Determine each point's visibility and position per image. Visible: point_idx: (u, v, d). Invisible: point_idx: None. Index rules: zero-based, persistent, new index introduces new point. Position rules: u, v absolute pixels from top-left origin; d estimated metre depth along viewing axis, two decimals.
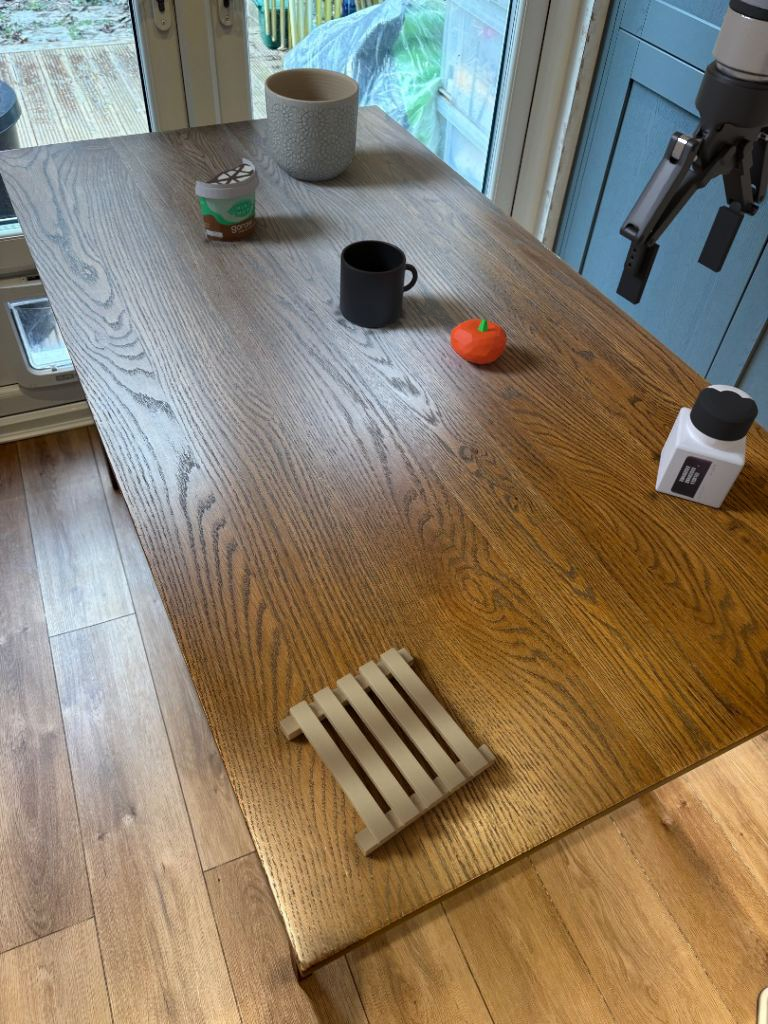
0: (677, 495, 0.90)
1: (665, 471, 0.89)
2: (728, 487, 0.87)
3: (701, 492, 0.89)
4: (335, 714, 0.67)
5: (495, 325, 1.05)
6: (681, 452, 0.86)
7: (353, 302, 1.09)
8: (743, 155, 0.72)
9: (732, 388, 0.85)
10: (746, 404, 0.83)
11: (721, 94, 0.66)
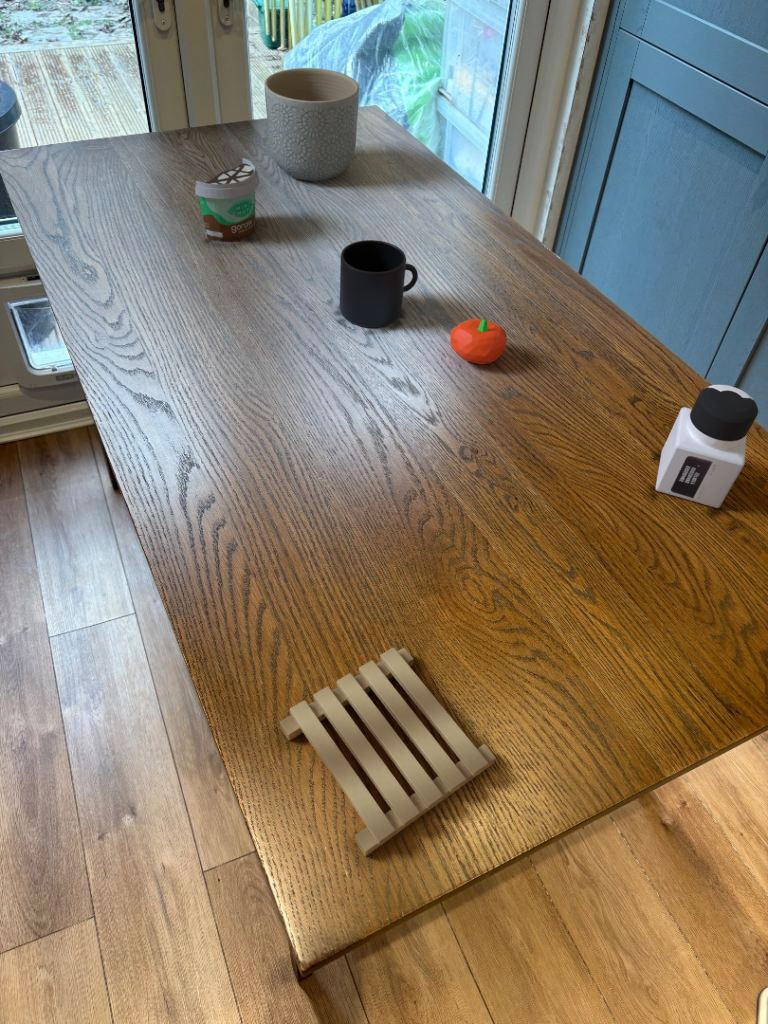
0: (677, 495, 0.90)
1: (665, 471, 0.89)
2: (728, 487, 0.87)
3: (701, 492, 0.89)
4: (335, 714, 0.67)
5: (495, 325, 1.05)
6: (681, 452, 0.86)
7: (353, 302, 1.09)
8: None
9: (732, 388, 0.85)
10: (746, 403, 0.83)
11: None
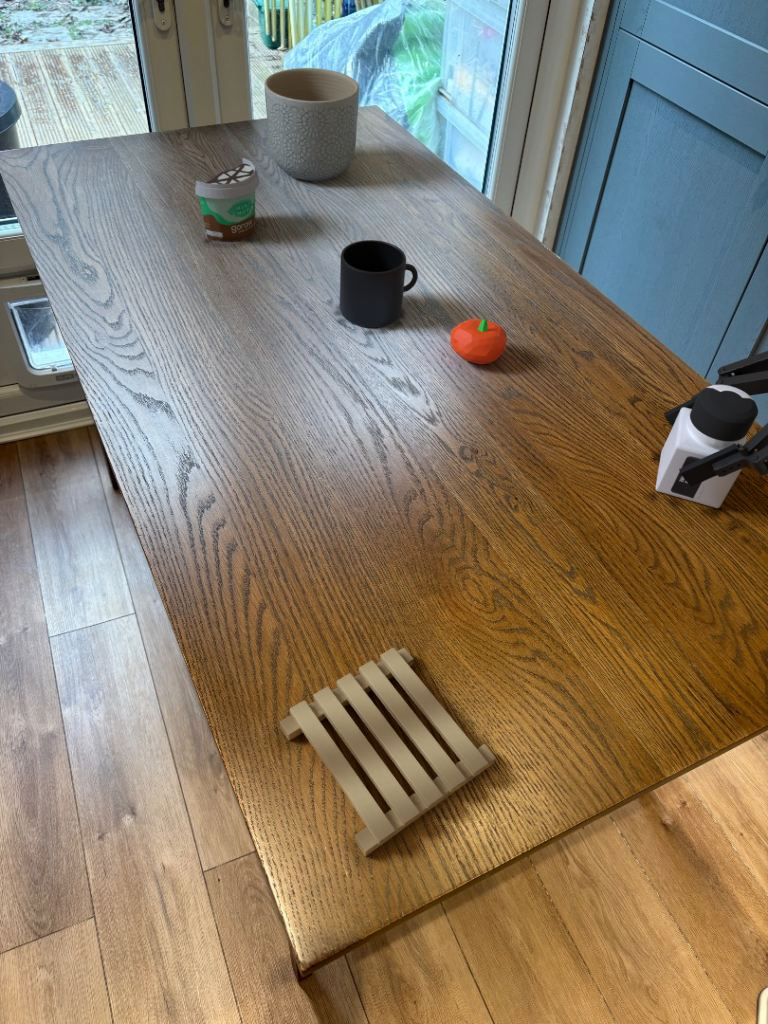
0: (677, 495, 0.90)
1: (665, 471, 0.89)
2: (728, 487, 0.87)
3: (702, 492, 0.89)
4: (335, 714, 0.67)
5: (495, 325, 1.05)
6: (681, 453, 0.86)
7: (353, 302, 1.09)
8: None
9: (732, 388, 0.85)
10: (746, 404, 0.83)
11: None
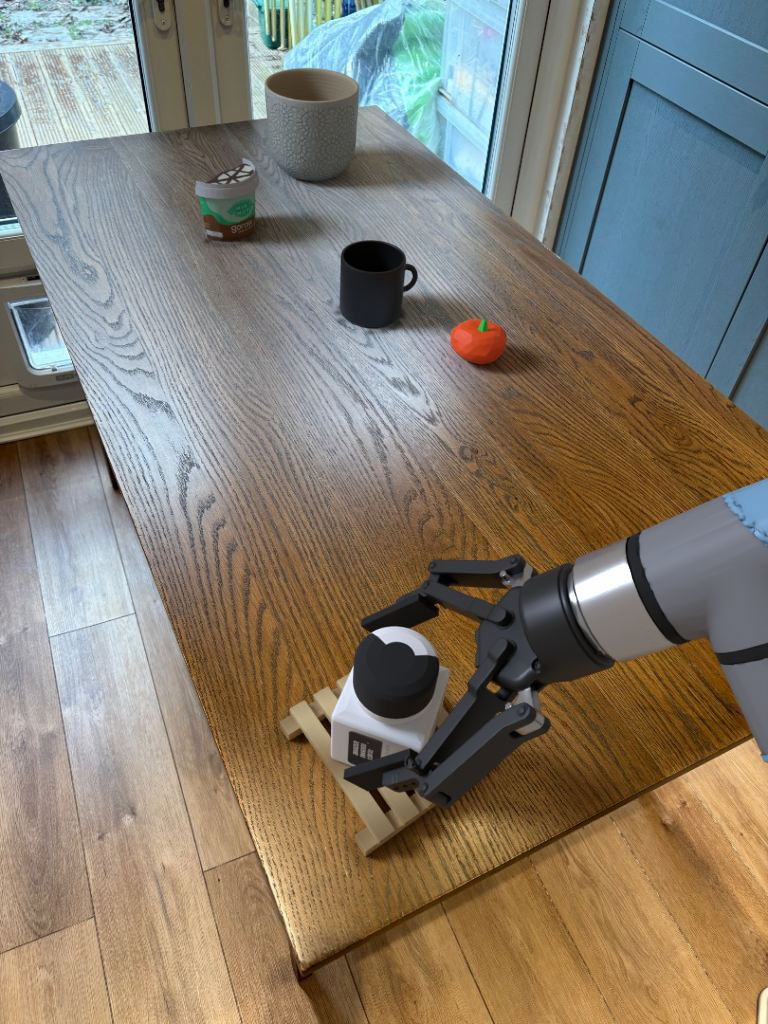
0: None
1: (332, 741, 0.61)
2: None
3: None
4: None
5: (495, 325, 1.05)
6: (340, 726, 0.59)
7: (353, 302, 1.09)
8: (492, 647, 0.52)
9: (407, 636, 0.58)
10: (417, 667, 0.56)
11: None
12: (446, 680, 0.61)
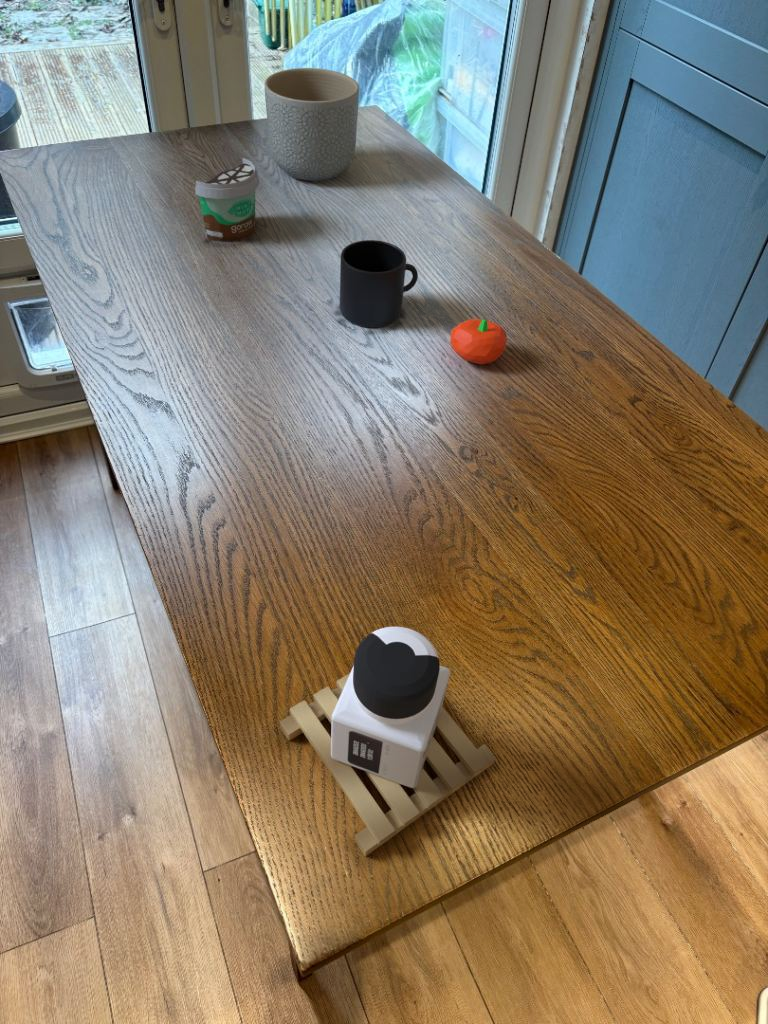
0: (358, 767, 0.63)
1: (332, 741, 0.61)
2: (415, 770, 0.60)
3: (385, 769, 0.62)
4: None
5: (495, 325, 1.05)
6: (340, 726, 0.59)
7: (353, 302, 1.09)
8: None
9: (407, 636, 0.58)
10: (417, 667, 0.56)
11: None
12: (446, 680, 0.61)
